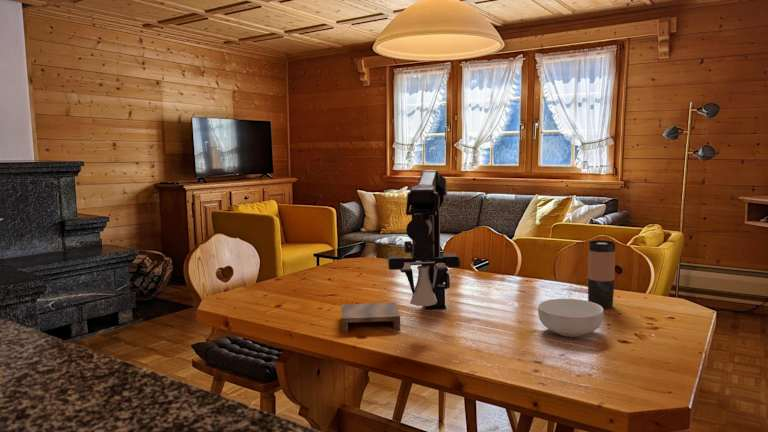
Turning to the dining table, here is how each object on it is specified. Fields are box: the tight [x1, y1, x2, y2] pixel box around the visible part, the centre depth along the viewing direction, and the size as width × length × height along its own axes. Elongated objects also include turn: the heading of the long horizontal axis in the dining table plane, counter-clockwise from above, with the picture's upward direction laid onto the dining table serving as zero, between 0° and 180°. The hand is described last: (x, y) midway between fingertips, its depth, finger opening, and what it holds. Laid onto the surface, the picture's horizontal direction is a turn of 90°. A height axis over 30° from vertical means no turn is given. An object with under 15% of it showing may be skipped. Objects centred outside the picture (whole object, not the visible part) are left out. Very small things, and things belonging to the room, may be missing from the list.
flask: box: [409, 265, 437, 307], centre depth 152 cm, size 7×7×10 cm
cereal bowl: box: [537, 298, 605, 338], centre depth 153 cm, size 17×17×7 cm
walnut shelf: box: [341, 302, 401, 334], centre depth 163 cm, size 16×14×4 cm
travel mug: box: [587, 239, 616, 310], centre depth 176 cm, size 8×8×20 cm
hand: (423, 293), depth 152 cm, fingers closed on flask, 5 cm apart
